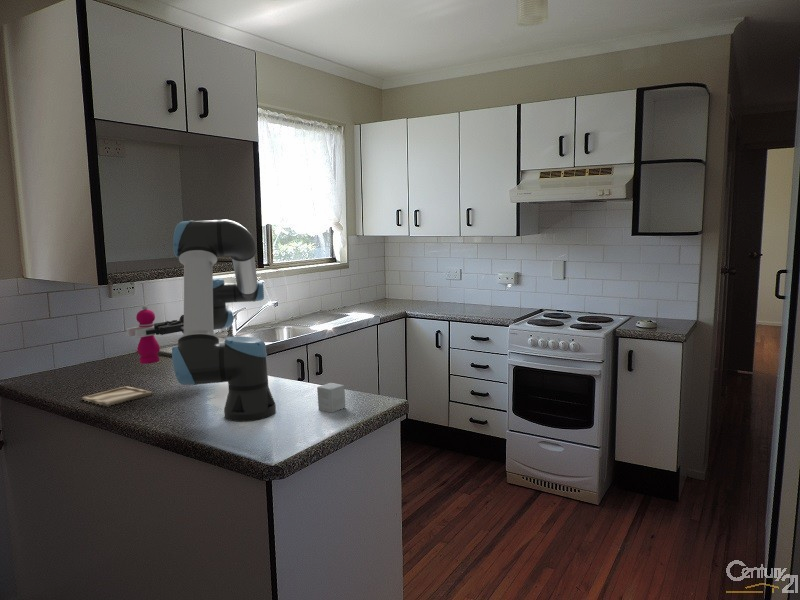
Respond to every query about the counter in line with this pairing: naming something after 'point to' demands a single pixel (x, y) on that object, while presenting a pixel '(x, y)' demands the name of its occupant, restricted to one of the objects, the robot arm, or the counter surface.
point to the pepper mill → (147, 337)
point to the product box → (331, 397)
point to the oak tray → (117, 396)
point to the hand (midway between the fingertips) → (131, 333)
